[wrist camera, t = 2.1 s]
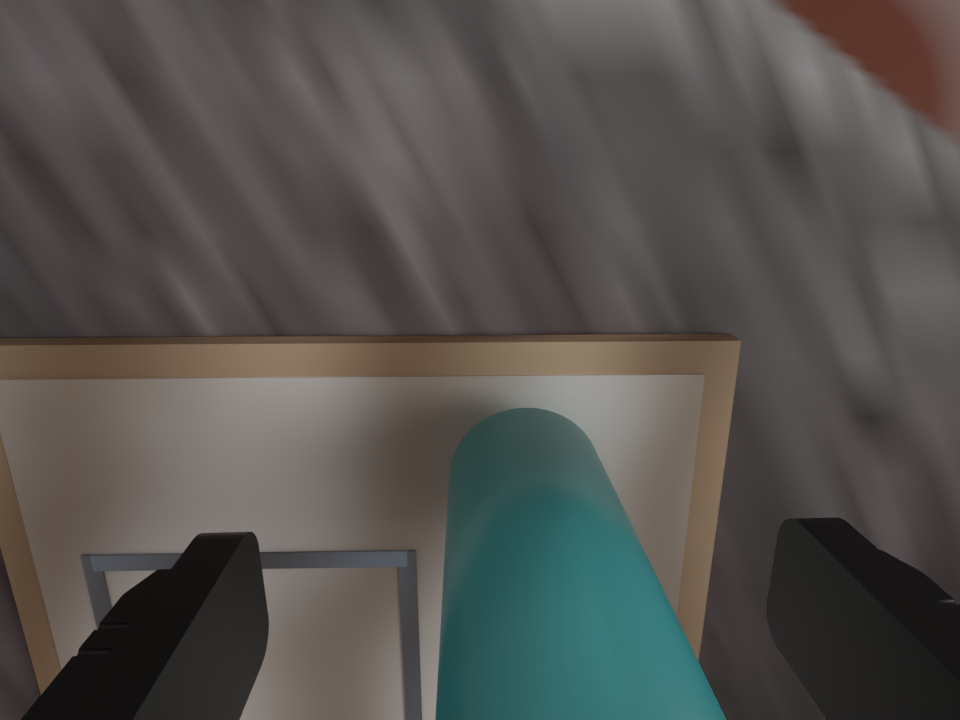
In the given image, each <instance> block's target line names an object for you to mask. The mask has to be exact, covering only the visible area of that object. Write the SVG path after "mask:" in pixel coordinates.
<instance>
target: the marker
mask: <svg viewBox="0 0 960 720" xmlns="http://www.w3.org/2000/svg"><path fill="white" fill-rule="evenodd" d="M435 720H726V718H725V716H724V713H723V711H722V709H721V707H720V705H719V703H718V701H717V699H716V697H715V695H714V693H713V691H712V689H711V687H710V685H709V683H708V681H707V679H706V676H705V674H704V672H703V670H702V668H701V666H700V664H699V662H698V660H697V658H696V656H695V654H694V652H693V650H692V648H691V646H690V644H689V641H688V639H687V637H686V635H685V633H684V631H683V629H682V627H681V625H680V623H679V621H678V619H677V617H676V615H675V613H674V611H673V609H672V607H671V604H670V602H669V600H668V598H667V596H666V594H665V592H664V590H663V588H662V586H661V584H660V582H659V580H658V578H657V576H656V574H655V572H654V569H653V567H652V565H651V563H650V561H649V559H648V557H647V555H646V553H645V551H644V549H643V547H642V545H641V543H640V541H639V539H638V537H637V535H636V532H635V530H634V528H633V526H632V524H631V522H630V520H629V518H628V516H627V514H626V512H625V510H624V508H623V506H622V504H621V502H620V500H619V498H618V495H617V493H616V491H615V489H614V487H613V485H612V483H611V481H610V479H609V477H608V475H607V473H606V471H605V469H604V467H603V465H602V463H601V460H600V458H599V456H598V454H597V452H596V450H595V448H594V446H593V444H592V442H591V441H590V439H589V438H588V436H587V435H586V434H585V433H584V432H583V430H582V429H581V428H580V427H578V426H577V425H576V424H575V423H574V422H572V421H571V420H569V419H567V418H566V417H564V416H562V415H560V414H557V413H555V412H552V411H549V410H544V409H539V408H515V409H510V410H505V411H502V412H499V413H496V414H494V415H492V416H490V417H487V418H486V419H484V420H483V421H481V422H479V423H478V424H477V425H476V426H474V427H473V428H472V429H471V430H470V431H469V432H468V433H467V434H466V435H465V436H464V437H463V439H462V440H461V442H460V443H459V444H458V446H457V448H456V450H455V452H454V455H453V457H452V460H451V464H450V469H449V485H448V503H447V521H446V538H445V556H444V574H443V592H442V609H441V627H440V645H439V663H438V681H437V698H436V716H435Z"/></svg>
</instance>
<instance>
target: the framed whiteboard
mask: <svg viewBox="0 0 960 720" xmlns="http://www.w3.org/2000/svg"><path fill="white" fill-rule="evenodd" d="M740 347H741V340H739V339H737V338H735V337H734V336H732V335H730V334H591V335H426V336H261V337H97V338H0V547H1V551H2V555H3V558H4V562H5V566H6V569H7V573H8V577H9V580H10V584H11V587H12V591H13V595H14V598H15V602H16V606H17V609H18V613H19V617H20V620H21V624H22V628H23V631H24V635H25V639H26V642H27V646H28V650H29V653H30V657H31V660H32V664H33V668H34V671H35V675H36V679H37V682H38V686H39V690H40V693H41V694H42V693H43V692H44V691H45V689H46V688H47V687H48V686H49V684H50V683H51V682H52V681H53V680H54V678H55V677H56V676H57V675H58V673H59V672H60V671H61V670H62V669H63V667H64V666H65V665H66V664H67V662H68V661H69V660H70V659H71V658H72V656H77V654H78V649H79V648H80V646H81V645H82V644H83V643H84V642H85V640H86V639H87V638H88V637H89V635H90V634H91V633H92V632H93V631H94V630H98V628H99V623H100V622H101V621H102V620H103V618H104V617H105V616H106V615H107V613H108V612H109V611H110V610H111V608H112V607H113V606H114V605H115V604H116V602H117V601H118V600H119V599H120V597H121V596H122V595H123V594H124V593H126V592H127V591H128V590H130V589H131V588H133V587H134V586H135V585H137V584H138V583H139V582H141V581H142V580H144V579H145V578H146V577H148V576H149V575H151V574H152V573H153V572H155V571H156V570H158V569H171V568H172V567H173V566H174V564H175V563H176V562H177V560H178V559H179V558H180V556H181V555H182V554H183V552H184V551H185V549H186V548H187V547H188V545H189V544H190V543H191V541H192V540H193V539H194V538H195V537H196V536H197V535H198V534H200V533H219V532H253V533H254V534H255V535H256V537H257V540H258V544H259V550H260V558H261V565H262V573H263V580H264V587H265V595H266V602H267V609H268V618H269V633H268V642H267V648H266V653H265V657H264V660H263V663H262V666H261V668H260V671H259V673H258V676H257V678H256V680H255V683H254V685H253V688H252V690H251V693H250V695H249V698H248V700H247V703H246V705H245V707H244V710H243V712H242V715H241V717H240V720H435V716H436V698H437V681H438V663H439V645H440V627H441V609H442V592H443V574H444V556H445V538H446V521H447V503H448V485H449V469H450V464H451V460H452V457H453V455H454V452H455V450H456V448H457V446H458V444H459V443H460V442H461V440H462V439H463V437H464V436H465V435H466V434H467V433H468V432H469V431H470V430H471V429H472V428H473V427H474V426H476V425H477V424H478V423H479V422H481V421H483V420H484V419H486V418H487V417H490V416H492V415H494V414H496V413H499V412H502V411H505V410H510V409H515V408H539V409H544V410H549V411H552V412H555V413H557V414H560V415H562V416H564V417H566V418H567V419H569V420H571V421H572V422H574V423H575V424H576V425H577V426H578V427H580V428H581V429H582V430H583V432H584V433H585V434H586V435H587V436H588V438H589V439H590V441H591V442H592V444H593V446H594V448H595V450H596V452H597V454H598V456H599V458H600V460H601V463H602V465H603V467H604V469H605V471H606V473H607V475H608V477H609V479H610V481H611V483H612V485H613V487H614V489H615V491H616V493H617V495H618V498H619V500H620V502H621V504H622V506H623V508H624V510H625V512H626V514H627V516H628V518H629V520H630V522H631V524H632V526H633V528H634V530H635V532H636V535H637V537H638V539H639V541H640V543H641V545H642V547H643V549H644V551H645V553H646V555H647V557H648V559H649V561H650V563H651V565H652V567H653V569H654V572H655V574H656V576H657V578H658V580H659V582H660V584H661V586H662V588H663V590H664V592H665V594H666V596H667V598H668V600H669V602H670V604H671V607H672V609H673V611H674V613H675V615H676V617H677V619H678V621H679V623H680V625H681V627H682V629H683V631H684V633H685V635H686V637H687V639H688V641H689V644H690V646H691V648H692V650H693V652H694V654H695V656H696V658H697V660H698V662H699V655H700V647H701V640H702V632H703V625H704V617H705V609H706V602H707V594H708V587H709V579H710V572H711V564H712V557H713V549H714V542H715V534H716V527H717V519H718V512H719V504H720V497H721V489H722V482H723V474H724V467H725V459H726V452H727V444H728V437H729V429H730V422H731V414H732V407H733V399H734V392H735V384H736V377H737V369H738V362H739V354H740Z"/></svg>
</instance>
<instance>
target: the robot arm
mask: <svg viewBox="0 0 960 720" xmlns="http://www.w3.org/2000/svg"><path fill="white" fill-rule="evenodd" d="M767 617H768V623H769V627H770V631H771V634H772V637H773V639H774V641H775V643H776V645H777V647H778V649H779V650H780V652H781V653H782V655H783V656H784V658H785V659H786V660H787V662H788V663H789V665H790V666H791V668H792V669H793V671H794V672H795V674H796V675H797V676H798V678H799V679H800V681H801V682H802V684H803V685H804V687H805V688H806V690H807V691H808V692H809V694H810V695H811V697H812V698H813V700H814V701H815V703H816V704H817V706H818V707H819V709H820V710H821V711H822V713H823V714H824V716H825V717H826V719H827V720H960V605H956V604H955V603H954V599H953V598H952V597H951V596H950V595H948V594H947V593H946V592H945V591H944V590H942V589H941V588H940V587H939V586H938V585H937V584H935V583H934V582H933V581H932V580H931V579H929V578H928V577H927V576H926V575H925V574H923V573H922V572H921V571H919V570H917V569H915V568H913V567H911V566H910V565H908V564H906V563H904V562H902V561H900V560H899V559H897V558H895V557H893V556H891V555H889V554H887V553H886V552H884V551H882V550H881V551H880V550H878V549H877V548H876V547H875V546H874V545H873V544H872V543H870V542H869V541H868V540H867V539H866V538H865V537H864V536H862V535H861V534H860V533H859V532H858V531H857V530H856V529H854V528H853V527H852V526H851V525H850V524H849V523H847V522H846V521H845V520H843V519H841V518H800V519H787V520H785V521H784V522H783V523H782V524H781V526H780V529H779V532H778V537H777V544H776V550H775V556H774V562H773V568H772V575H771V581H770V587H769V593H768V599H767ZM268 633H269V618H268V609H267V602H266V595H265V587H264V580H263V573H262V565H261V558H260V550H259V544H258V540H257V537H256V535H255V534H254V533H253V532H219V533H200V534H198V535H197V536H196V537H195V538H194V539H193V540H192V541H191V543H190V544H189V545H188V547H187V548H186V549H185V551H184V552H183V554H182V555H181V556H180V558H179V559H178V560H177V562H176V563H175V564H174V566H173V567H172V568H171V569H158V570H156V571H155V572H153V573H152V574H151V575H149V576H148V577H146V578H145V579H144V580H142V581H141V582H139V583H138V584H137V585H135V586H134V587H133V588H131V589H130V590H128V591H127V592H126V593H124V594H123V595H122V596H121V597H120V599H119V600H118V601H117V602H116V604H115V605H114V606H113V607H112V608H111V610H110V611H109V612H108V613H107V615H106V616H105V617H104V618H103V620H102V621H101V622H100V623H99V628H98V630H94V631H93V632H92V633H91V634H90V635H89V637H88V638H87V639H86V640H85V642H84V643H83V644H82V645H81V646H80V648H79V649H78V654H77V656H72V658H71V659H70V660H69V661H68V662H67V664H66V665H65V666H64V667H63V669H62V670H61V671H60V672H59V673H58V675H57V676H56V677H55V678H54V680H53V681H52V682H51V683H50V684H49V686H48V687H47V688H46V689H45V691H44V692H43V693H42V694H41V696H40V697H39V698H38V699H37V700H36V702H35V703H34V704H33V705H32V707H31V708H30V709H29V710H28V711H27V713H26V714H25V715H24V716H23V718H22V719H21V720H240V717H241V715H242V712H243V710H244V707H245V705H246V703H247V700H248V698H249V695H250V693H251V690H252V688H253V685H254V683H255V680H256V678H257V676H258V673H259V671H260V668H261V666H262V663H263V660H264V657H265V653H266V648H267V642H268Z"/></svg>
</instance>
